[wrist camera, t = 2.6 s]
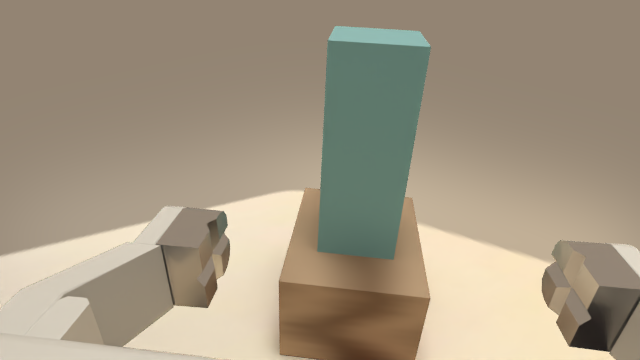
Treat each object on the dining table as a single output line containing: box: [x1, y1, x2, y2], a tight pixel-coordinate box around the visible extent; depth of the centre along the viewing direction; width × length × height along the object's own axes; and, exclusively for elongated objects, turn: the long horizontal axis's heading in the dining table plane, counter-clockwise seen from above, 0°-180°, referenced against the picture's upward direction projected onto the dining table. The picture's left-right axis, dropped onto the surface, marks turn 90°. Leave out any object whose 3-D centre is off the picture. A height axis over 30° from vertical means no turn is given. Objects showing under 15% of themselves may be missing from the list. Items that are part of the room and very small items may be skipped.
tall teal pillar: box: [317, 26, 431, 260], centre depth 22 cm, size 4×4×12 cm
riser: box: [279, 188, 430, 360], centre depth 26 cm, size 8×10×6 cm
